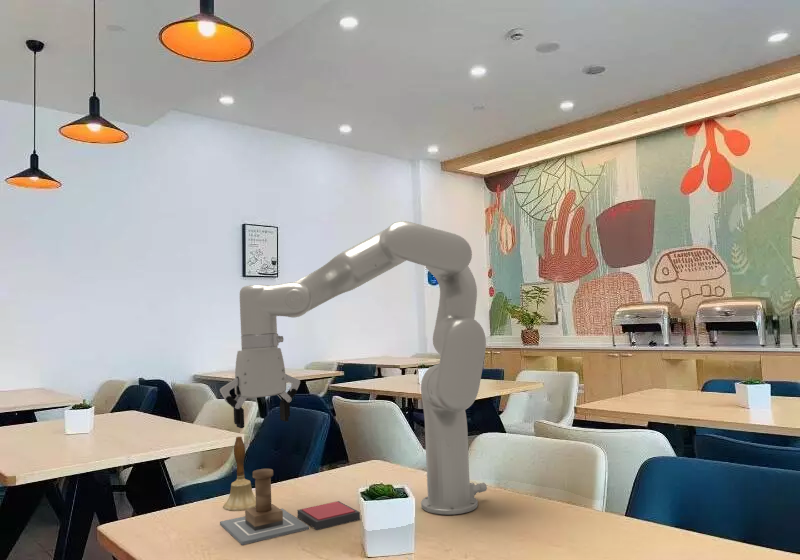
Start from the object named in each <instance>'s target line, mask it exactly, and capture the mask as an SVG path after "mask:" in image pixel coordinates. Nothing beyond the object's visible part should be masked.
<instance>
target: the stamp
mask: <svg viewBox="0 0 800 560" xmlns="http://www.w3.org/2000/svg"><path fill="white" fill-rule="evenodd" d="M273 476H274V470H273V469H272V468H261V469H259V468H258V469H256V470H255V469H254V470H253V471H252V478H253V479H254V484H255V485H254V487H255V497H256V507H254V508H250V509H245V510H244V513H245V514H244V515H245V523H246V524H247V525H248V526H250V527H251V528H252V529H253V530H254V531H256V530H261V529H265V528H269V527H274V526H278V525H283V511H282V510H281V509H282V508H279V507H278V506H276V505H275V504H273V503H272V481H271V480H272V477H273Z"/></svg>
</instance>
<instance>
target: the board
mask: <svg viewBox="0 0 800 560" xmlns="http://www.w3.org/2000/svg"><path fill="white" fill-rule="evenodd" d="M280 509H281V510H282V511H283V525H278V526H274V527H269V528H265V529H261V530H256V531H254V530H253V529H252V528H251V527H250V526H248V525H247V524H246V523H245V516H240V517H235V518H231V519H226V520H220V521H219V525H220V526H221V527H222V528H223V529H224V530H225V531H226V532H227V533H229V535H230V536H232V537H233V539H235V540H236V541H237V542H238V543H239V544H240V545H241V546H244V545H248V544H252V543H253V544H254V543H257V542H261V541H265V540H269V539H274V538H278V537H283V536H286V535H290V534H294V533H299V532H302V531H308V530H310V525H308V524H307V523H305V522H304V521H302V520H301V519H299V518H298V517H296V516H295V515H293V514H291V513H290V512H289V511H287V510H285V509H284V508H280Z"/></svg>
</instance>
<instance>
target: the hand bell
mask: <svg viewBox="0 0 800 560" xmlns="http://www.w3.org/2000/svg"><path fill="white" fill-rule="evenodd" d="M233 445H234V446H233V456H234V460H235V462H236V479H235V480H234V481H232V482H231V484H230V492H229V496H228V498H227V500H226V501H225V502H224V504H223V506H222V508H223V509H224V510H226V511H229V512H240V511H245V509H250V508H255V507H256V495H255V494H254V492H253V489H252V483H251V480H249V479H246V478H245V477H246V476H245V469H244V467H245V466H244V462H245V458H246V447H245V443H244V441H243V437H242V436H236V437H235V441H234V444H233Z"/></svg>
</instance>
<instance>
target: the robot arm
mask: <svg viewBox="0 0 800 560" xmlns="http://www.w3.org/2000/svg"><path fill="white" fill-rule="evenodd" d="M472 256H473V252H472V247H471V245H470V243H469V242H468V241H467V240H466V239H465V238H464V237H463V236H461V235H458V234H456V233H453V232H449V231H445V230H441V229H437V228H434V227H430V226H426V225H423V224H419V223H416V222H411V221H406V220H405V221H403V220H401V221H396V222H394V223H392V224H390V225H389V226H387V228H385V229H383V230H382V231H380V232H378V233H376V234H374V235H372V236H370V237H369V238H367V239H364V240H363V241H360V242H359V243H357V244H356V245H353V246H352V247H350V248H347V249H346V250H344V251H342V252H340V253H339V254H336V256H334V257H333V258H332V259H330V260H329V261H327V263H325V264H323V266H321V267H319V268H318V269H316V270H314V271H313V272H310V273H309V274H307V275H305V276H303V277H301V278H299V279H298V280H295V281H294V282H293V281H292V282H285V283H280V284H274V285H271V284H270V285H269V284H253V285H252V284H250V285H245V286H243V287H241V288H240V290H239V317H240V319H239V320H240V335H241V336H240V340H241V341H240V342H241V343H240V344H241V346H240V347H241V350H237V353H236V360H235V372H234V378H233V380H231V381H229V382H228V383H226V384H225V385H223V386H222V387H220V388H219V392H220V395H222V397H223V399H224V401H225V402H226V403H227V404H228V405H229V406H231V407H232V408H233V423H234V425H235V426H236V428H239V429H243V428H245V412H244V411H245V410H244V408H243V405H244V404H245V402H246V400H247V399H254V398H255V399H256V398H263V397H272V396H277V397H279V399H280V400H281V401H279V419H280V421H282V422H289V421H290V420H289V419H290V416H291V408H290V406H291V405H290V403H291V402H292V399H293V398H294V397H295V395H296V394H297V393H298V392H297V391H298V389H299V387H300V384H301V380H300V379H298V378H297V377H293V376H291V375H289V374H286V368H285V361H284V358H283V357H284V356H283V354H282V353H283V352H282V348H280V347H279V344H280V343H283V342H284V340H285V339H284V336H283V335H279V333H278V326H277V325H278V322H277V317H288V318H299V317H302V316H304V315H305V314H307V313H308V312H309V311H312V310H313V309H315V308H317V307H319V306H320V305H322V304H324V303H327V302H328V301H329V300H331V299H333V298H335V297H338V296H340V295H342V294H345V293H348V292H350V291H353V290H355V289H356V288H359V287H361V286H362V285H365V284H366V283H368V282H371V281H372V280H373V279H376V278H377V277H379V276H381V275H383V274H384V273H386V272H388V271H390V270H391V269H394V268H395V267H397V266H399V265H401V264H402V263H405V262H406V261H408V262H411V263H414V264H417V265H421V266H424V267H425V268H426V269H427V271H428V272H429V273H430V274H431V275H433V277H434V279H435V280H436V281H437V283H438V287H439V298H438V299H439V300H438V308H437V314H436V320H435V325H434V329H433V334H432V345H433V348H434V350H435V351H436V352H437V353H438V354H439V355H440V358H439V363H437V364H434V365H432V366H430V367H429V368H428V369H427V370H426V371H425V373H424V374H423V376H422V380H421V384H420V394H421V401H422V408H423V409H422V410H423V416H424V433H425V435H424V438H425V439H424V440H425V441H424V442H425V456H426V457H425V458H426V459H425V462H426V463H425V464H426V484H427V487H426V488H427V489H426V490H427V496H426V497H423V498H422V500H421V502H420V507H421V509H423V510H424V511H426V512H428V513H431V514H435V515H444V516H445V515H446V516H447V515H451V516H452V515H460V514H461V515H462V514H467V513H468V512H473V511H474V510H476V509H477V507H478V506H479V505H478V499H477V498H476V497H475V496H476V495H477V494H479V493H483V492H486V491H487V490H488V486H487V484H486V483H485V482H481V483H480V482H479V483H477V484H475V483H474V482H470V480H471V479H470V464H469V463H470V460H469V458H470V457H469V441H468V440H469V439H468V435H469V434H468V421H467V419H468V418H467V413H466V410H467V409H469V408H470V407H471V406H472V405H473V404H474V402H475V401H476V399H477V396H478V393H479V390H480V386H481V379H482V373H483V367H484V360H485V357H486V348H487V347H486V346H487V338H486V333H485V331H484V328H483V326H482V325H481V324H480V322H478V321H477V320H475V316H476V307H477V299H478V298H477V297H478V287H477V282H476V279H475V277H474V274H473V272H472V270H471V269H470V267H469V265H470V263H471V262H472V258H473V257H472ZM287 382H288V383H290V388H289V389H288V390H287V392H286V389H287ZM233 389H234V394H235V395H236V396H235V398H234V397H232V395H231V394H230V391H231V390H233Z"/></svg>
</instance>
